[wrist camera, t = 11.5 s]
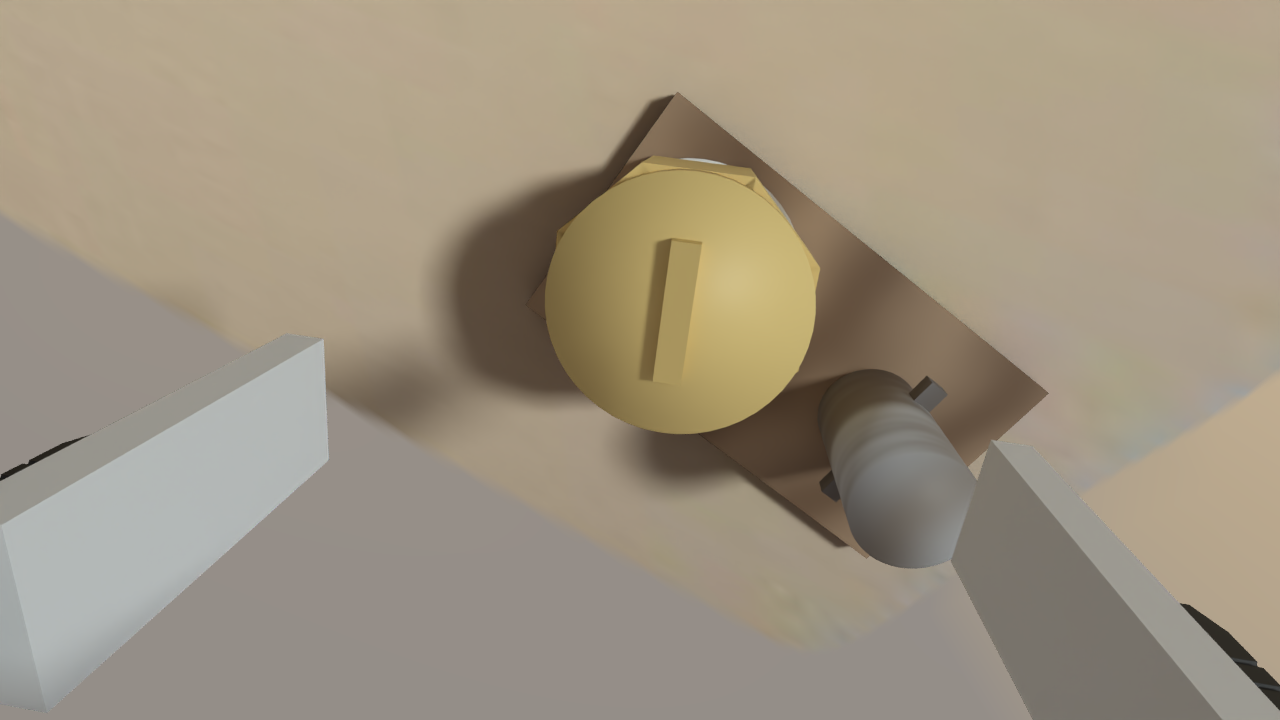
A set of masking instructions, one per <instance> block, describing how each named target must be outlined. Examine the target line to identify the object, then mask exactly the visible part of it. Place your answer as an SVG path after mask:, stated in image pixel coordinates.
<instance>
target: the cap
mask: <svg viewBox="0 0 1280 720" xmlns="http://www.w3.org/2000/svg"><path fill="white" fill-rule="evenodd" d="M819 272H820V267H819V265H818V264H817V262H816V261H815V259H814V258H813V256H812V254H811V253H810V251H809V250H808V248H807V247H806V245H805V244H804V242H803V241H802V240H801V238H800V237H799V235H798V234H797V233H796V231H795V230H794V228H793V227H792V226H791V224H790V223H789V221H788V220H787V219H786V217H785V216H784V214H783V213H782V212H781V210H780V209H779V207H778V206H777V205H776V203H775V202H774V200H773V199H772V197H771V196H770V195H769V193H768V192H767V190H766V189H765V188H764V186H763V185H762V183H761V182H760V181H759V179H758V178H757V176H756V175H755V174H754V172H753V171H752V169H751V168H745V167H738V166H730V165H722V164H715V163H707V162H700V161H692V160H684V159H677V158H669V157H662V156H652V157H650V158H649V159H647V160H645V161H643V162H642V163H640V164H639V165H638V166H637V167H635V168H634V169H633V170H632V171H631V172H629V173H628V174H627V175H626V176H624V177H623V178H622V179H621V180H620V181H618V182H617V183H616V184H615V185H613V186H612V187H611V188H610V189H608V190H607V191H606V192H605V193H604V194H602V195H601V196H600V197H598V198H597V199H595V200H594V201H592V202H591V203H590V204H589V205H588V206H587V207H586V208H585V209H584V210H583V211H581V212H580V213H579V214H578V215H576V216H575V217H574V218H573V219H572V220H570V221H569V222H568V223H567V224H565V225H564V226H563V227H562V228H560V229H559V230H558V231H557V237H556V250H555V253H554V255H553V257H552V260H551V264H550V267H549V271H548V275H547V281H546V288H545V314H546V322H547V327H548V331H549V335H550V339H551V342H552V345H553V347H554V350H555V352H556V355H557V357H558V359H559V361H560V362H561V364H562V366H563V368H564V370H565V371H566V373H567V374H568V375H569V377H570V378H571V380H572V381H573V382H574V384H575V385H576V386H577V387H578V388H579V389H580V390H581V391H582V392H583V393H584V394H585V396H586V397H588V398H589V399H590V400H591V401H592V402H594V403H595V404H596V405H597V406H598V407H600V408H601V409H603V410H604V411H606V412H607V413H609V414H611V415H612V416H614V417H616V418H618V419H620V420H622V421H624V422H626V423H628V424H631V425H634V426H637V427H640V428H643V429H646V430H651V431H656V432H660V433H671V434H695V433H702V432H709V431H713V430H717V429H720V428H724V427H727V426H730V425H732V424H735V423H737V422H740V421H742V420H744V419H746V418H747V417H749V416H751V415H753V414H755V413H756V412H758V411H759V410H760V409H762V408H763V407H764V406H766V405H767V404H769V403H770V402H771V401H772V400H773V399H774V398H775V397H776V396H777V395H778V394H779V393H780V392H781V391H782V390H783V389H784V388H785V387H786V385H787V384H788V383H789V382H790V380H791V379H792V378H793V376H794V375H795V373H797V372H798V371H799V366H800V365H801V363H802V361H803V359H804V356H805V354H806V352H807V350H808V347H809V344H810V340H811V337H812V333H813V329H814V322H815V315H816V294H815V291H816V286H817V282H818V277H819Z"/></svg>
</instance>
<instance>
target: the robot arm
mask: <svg viewBox="0 0 1280 720" xmlns="http://www.w3.org/2000/svg"><path fill="white" fill-rule="evenodd" d="M328 460H329V450H328V427H327V405H326V383H325V361H324V339H321V338H315V337H308V336H301V335H295V334H288V333H287V334H285V335H283V336H281V337H279V338H277V339H275V340H273V341H271V342H269V343H267V344H265V345H263V346H261V347H259V348H257V349H256V350H254V351H252V352H250V353H248V354H246V355H244V356H242V357H240V358H238V359H236V360H234V361H233V362H230V363H229V364H227V365H225V366H223V367H221V368H219V369H217V370H215V371H213V372H211V373H209V374H207V375H205V376H203V377H201V378H200V379H197V380H196V381H194V382H192V383H190V384H188V385H186V386H184V387H182V388H180V389H178V390H176V391H174V392H172V393H170V394H168V395H166V396H164V397H163V398H161V399H159V400H157V401H155V402H153V403H151V404H149V405H147V406H145V407H143V408H141V409H139V410H137V411H136V412H133V413H132V414H130V415H128V416H126V417H124V418H122V419H120V420H118V421H116V422H114V423H112V424H110V425H109V426H106V427H104V428H102V429H101V430H99V431H97V432H95V433H93V434H91V435H88V436H85V437H81V438H79V439H75V440H72V441H69V442H65V443H62V444H60V445H59V446H56V447H54V448H52V449H50V450H49V451H46V452H44V453H42V454H41V455H39V456H37V457H35V458H33V459H31V460H29V463H28V464H21V465H19V466H17V467H15V468H13V469H11V470H9V471H7V472H5V473H3V474H1V478H0V704H2V705H8V706H13V707H19V708H24V709H29V710H34V711H40V712H45V713H47V712H49V711H50V710H51V709H52V708H53V707H54V706H55V705H56V704H57V703H58V702H60V701H61V700H62V699H63V698H64V697H65V696H66V695H67V694H68V693H70V692H71V691H72V690H73V689H74V688H75V687H76V686H78V685H79V684H80V683H81V682H82V681H83V680H84V679H85V678H86V677H88V676H89V675H90V674H91V673H92V672H93V671H94V670H95V669H97V668H98V667H99V666H100V665H101V664H102V663H103V662H104V661H105V660H106V659H108V658H109V657H110V656H111V655H112V654H113V653H114V652H115V651H117V650H118V649H119V648H120V647H121V646H122V645H123V644H124V643H126V642H127V641H128V640H129V639H130V638H131V637H132V636H133V635H134V634H135V633H137V632H138V631H139V630H140V629H141V628H142V627H143V626H144V625H146V624H147V623H148V622H149V621H150V620H151V619H152V618H153V617H155V616H156V615H157V614H158V613H159V612H160V611H161V610H162V609H163V608H165V607H166V606H167V605H168V604H169V603H170V602H171V601H172V600H173V599H175V598H176V597H177V596H178V595H179V594H180V593H181V592H182V591H183V590H185V589H186V588H187V587H188V586H189V585H190V584H191V583H192V582H194V581H195V580H196V579H197V578H198V577H199V576H200V575H201V574H202V573H204V572H205V571H206V570H207V569H208V568H209V567H210V566H211V565H212V564H214V563H215V562H216V561H217V560H218V559H219V558H220V557H221V556H223V555H224V554H225V553H226V552H227V551H228V550H229V549H230V548H231V547H233V546H234V545H235V544H236V543H237V542H238V541H239V540H240V539H241V538H243V537H244V536H245V535H246V534H247V533H248V532H249V531H250V530H251V529H253V528H254V527H255V526H256V525H257V524H258V523H259V522H260V521H261V520H263V519H264V518H265V517H266V516H267V515H268V514H269V513H270V512H272V511H273V510H274V509H275V508H276V507H277V506H278V505H279V504H280V503H282V502H283V501H284V500H285V499H286V498H287V497H288V496H289V495H291V494H292V493H293V492H294V491H295V490H296V489H297V488H298V487H299V486H300V485H302V484H303V483H304V482H305V481H306V480H307V479H308V478H309V477H310V476H312V475H313V474H314V473H315V472H316V471H317V470H318V469H319V468H321V467H322V466H323V465H324V464H325V463H326V462H327V461H328ZM951 562H952V564H953V566H954V568H955V570H956V572H957V574H958V576H959V578H960V579H961V581H962V583H963V585H964V587H965V589H966V591H967V593H968V595H969V597H970V599H971V601H972V603H973V605H974V607H975V609H976V610H977V612H978V614H979V616H980V618H981V620H982V622H983V624H984V626H985V628H986V630H987V631H988V634H989V636H990V638H991V639H992V641H993V643H994V645H995V647H996V649H997V651H998V653H999V655H1000V657H1001V659H1002V660H1003V663H1004V665H1005V667H1006V669H1007V671H1008V672H1009V674H1010V676H1011V678H1012V680H1013V682H1014V684H1015V686H1016V688H1017V690H1018V692H1019V694H1020V696H1021V698H1022V700H1023V702H1024V704H1025V705H1026V707H1027V709H1028V711H1029V713H1030V715H1031V717H1032V719H1033V720H1280V685H1279V684H1278V683H1277V682H1276V681H1275V680H1274V679H1273V678H1272V677H1271V676H1270V674H1269V673H1268V672H1266V670H1265V669H1264V668H1260V667H1258V666H1257V661H1256V660H1255V659H1254V658H1253V657H1252V656H1251V655H1250V654H1249V653H1248V652H1247V651H1246V650H1245V649H1244V648H1243V647H1242V646H1241V645H1240V644H1239V643H1238V642H1237V641H1236V640H1235V639H1234V638H1233V637H1232V636H1231V635H1230V634H1229V632H1227V631H1226V630H1224V629H1223V628H1221V627H1220V626H1219V625H1217V624H1216V623H1214V622H1213V621H1211V620H1210V619H1209V618H1207V617H1206V616H1204V615H1203V614H1201V613H1200V612H1198V611H1197V610H1196V609H1194V608H1193V607H1191V606H1190V605H1187V604H1181V603H1179V602H1178V601H1177V600H1176V599H1175V598H1174V597H1173V596H1172V595H1171V594H1170V593H1169V592H1168V591H1167V590H1166V589H1165V587H1164V586H1163V585H1162V584H1161V583H1160V582H1159V581H1158V580H1157V579H1156V578H1155V577H1154V576H1153V575H1152V574H1151V572H1150V571H1149V570H1148V569H1147V568H1146V567H1145V566H1144V565H1143V564H1142V563H1141V562H1140V561H1139V560H1138V559H1137V557H1136V556H1135V555H1134V554H1133V553H1132V552H1131V551H1130V550H1129V549H1128V548H1127V547H1126V546H1125V545H1124V544H1123V542H1122V541H1121V540H1120V539H1119V538H1118V537H1117V536H1116V535H1115V534H1114V533H1113V532H1112V531H1111V530H1110V529H1109V528H1108V527H1107V525H1106V524H1105V523H1104V522H1103V521H1102V520H1101V519H1100V518H1099V517H1098V516H1097V515H1096V514H1095V513H1094V511H1093V510H1092V509H1091V508H1090V507H1089V506H1088V505H1087V504H1086V503H1085V502H1084V501H1083V500H1082V499H1081V498H1080V496H1079V495H1078V494H1077V493H1076V492H1075V491H1074V490H1073V489H1072V488H1071V487H1070V486H1069V485H1068V484H1067V483H1066V482H1065V480H1064V479H1063V478H1062V477H1061V476H1060V475H1059V474H1058V473H1057V472H1056V471H1055V470H1054V469H1053V468H1052V467H1051V465H1050V464H1049V463H1048V462H1047V461H1046V460H1045V459H1044V458H1043V457H1042V456H1041V455H1040V454H1039V453H1038V452H1037V450H1036V449H1035V448H1034V447H1033V446H1029V445H1022V444H1016V443H1009V442H1002V441H996V440H991V441H990V444H989V447H988V450H987V453H986V456H985V459H984V462H983V465H982V468H981V471H980V474H979V477H978V480H977V483H976V486H975V489H974V492H973V495H972V498H971V501H970V504H969V507H968V510H967V513H966V516H965V519H964V522H963V525H962V529H961V532H960V535H959V538H958V541H957V544H956V547H955V550H954V553H953V556H952V559H951Z"/></svg>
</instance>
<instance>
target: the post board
mask: <svg viewBox="0 0 1280 720" xmlns="http://www.w3.org/2000/svg"><path fill="white" fill-rule="evenodd" d="M652 156H662V157H669V158H677V159H684V160H692V161H700V162H707V163H715V164H722V165H730V166H738V167H745V168H751V169H752V171H753V172H754V174H755V175H756V176H757V178H758V179H759V181H760V182H761V183H762V185H763V186H764V188H765V189H766V190H767V192H768V193H769V195H770V196H771V197H772V199H773V200H774V202H775V203H776V205H777V206H778V207H779V209H780V210H781V212H782V213H783V214H784V216H785V217H786V219H787V220H788V221H789V223H790V224H791V226H792V227H793V228H794V230H795V231H796V233H797V234H798V235H799V237H800V238H801V240H802V241H803V242H804V244H805V245H806V247H807V248H808V250H809V251H810V253H811V254H812V256H813V258H814V259H815V261H816V262H817V264H818V265H819V267H820V272H819V277H818V282H817V286H816V291H815V294H816V315H815V322H814V329H813V333H812V337H811V340H810V344H809V347H808V350H807V352H806V354H805V356H804V359H803V361H802V363H801V365H800V366H799V371H798V372H797V373H795V375H794V376H793V378H792V379H791V380H790V382H789V383H788V384H787V385H786V387H785V388H784V389H783V390H782V391H781V392H780V393H779V394H778V395H777V396H776V397H775V398H774V399H773V400H772V401H771V402H770V403H769V404H767V405H766V406H764V407H763V408H762V409H760V410H759V411H758V412H756V413H755V414H753V415H751V416H749V417H747V418H746V419H744V420H742V421H740V422H737V423H735V424H732V425H730V426H727V427H724V428H720V429H717V430H713V431H709V432H702V433H698V434H699V435H701V436H702V437H704V438H705V439H706V440H708V441H709V442H710V443H712V444H713V445H714V446H716V447H717V448H718V449H720V450H721V451H722V452H724V453H725V454H726V455H728V456H729V457H730V458H732V459H733V460H734V461H736V462H737V463H739V464H740V465H741V466H743V467H744V468H745V469H747V470H748V471H749V472H751V473H752V474H753V475H755V476H756V477H757V478H759V479H760V480H761V481H763V482H764V483H765V484H767V485H768V486H770V487H771V488H772V489H774V490H775V491H776V492H778V493H779V494H780V495H782V496H783V497H784V498H786V499H787V500H788V501H790V502H791V503H792V504H794V505H795V506H796V507H798V508H799V509H800V510H802V511H803V512H805V513H806V514H807V515H809V516H810V517H811V518H813V519H814V520H815V521H817V522H818V523H819V524H821V525H822V526H823V527H825V528H826V529H827V530H829V531H830V532H831V533H833V534H834V535H835V536H837V537H838V538H840V539H841V540H842V541H844V542H845V543H846V544H848V545H849V546H850V547H852V548H853V549H854V550H856V551H857V552H858V553H860V554H861V555H862V556H864V557H865V558H866V559H867V558H868V557H869V556H872V557H873V558H875V559H876V560H878V561H880V562H882V563H885V564H888V565H891V566H895V567H900V568H925V567H930V566H934V565H938V564H941V563H943V562H946V561H948V560H950V559H952V556H953V553H954V550H955V547H956V544H957V541H958V538H959V535H960V532H961V529H962V525H963V522H964V519H965V516H966V513H967V510H968V507H969V504H970V501H971V498H972V495H973V492H974V489H975V486H976V483H977V480H976V479H975V477H974V476H973V474H972V473H971V471H970V470H969V469H968V466H969V465H970V464H971V463H972V462H974V461H975V460H976V459H977V458H978V457H979V456H980V455H981V454H982V453H983V452H985V451H986V450H987V449H988V447H989V444H990V441H991V440H996V441H997V440H998V439H999V438H1000V437H1001V436H1002V435H1003V434H1004V433H1006V432H1007V431H1008V430H1009V429H1010V428H1011V427H1012V426H1013V425H1014V424H1015V423H1017V422H1018V421H1019V420H1020V419H1021V418H1022V417H1023V416H1024V415H1025V414H1027V413H1028V412H1029V411H1030V410H1031V409H1032V408H1033V407H1034V406H1035V405H1036V404H1038V403H1039V402H1040V401H1041V400H1042V399H1043V398H1044V397H1045V396H1046V395H1047V394H1049V393H1048V392H1047V391H1046V390H1044V389H1043V388H1042V387H1041V386H1040V385H1038V384H1037V383H1036V382H1035V381H1033V380H1032V379H1031V378H1030V377H1029V376H1027V375H1026V374H1025V373H1024V372H1022V371H1021V370H1020V369H1019V368H1017V367H1016V366H1015V365H1014V364H1013V363H1011V362H1010V361H1009V360H1008V359H1006V358H1005V357H1004V356H1003V355H1001V354H1000V353H999V352H998V351H996V350H995V349H994V348H993V347H992V346H990V345H989V344H988V343H987V342H985V341H984V340H983V339H982V338H980V337H979V336H978V335H977V334H976V333H974V332H973V331H972V330H971V329H969V328H968V327H967V326H966V325H964V324H963V323H962V322H961V321H959V320H958V319H957V318H956V317H955V316H953V315H952V314H951V313H950V312H948V311H947V310H946V309H945V308H943V307H942V306H941V305H940V304H939V303H937V302H936V301H935V300H934V299H932V298H931V297H930V296H929V295H927V294H926V293H925V292H924V291H922V290H921V289H920V288H919V287H918V286H916V285H915V284H914V283H913V282H911V281H910V280H909V279H908V278H906V277H905V276H904V275H903V274H902V273H900V272H899V271H898V270H897V269H895V268H894V267H893V266H892V265H890V264H889V263H888V262H887V261H885V260H884V259H883V258H882V257H881V256H879V255H878V254H877V253H876V252H874V251H873V250H872V249H871V248H869V247H868V246H867V245H866V244H865V243H863V242H862V241H861V240H860V239H858V238H857V237H856V236H855V235H853V234H852V233H851V232H850V231H848V230H847V229H846V228H845V227H844V226H842V225H841V224H840V223H839V222H837V221H836V220H835V219H834V218H832V217H831V216H830V215H829V214H828V213H826V212H825V211H824V210H823V209H821V208H820V207H819V206H818V205H816V204H815V203H814V202H813V201H811V200H810V199H809V198H808V197H807V196H805V195H804V194H803V193H802V192H800V191H799V190H798V189H797V188H795V187H794V186H793V185H792V184H791V183H789V182H788V181H787V180H786V179H784V178H783V177H782V176H781V175H779V174H778V173H777V172H776V171H774V170H773V169H772V168H771V167H770V166H768V165H767V164H766V163H765V162H763V161H762V160H761V159H760V158H758V157H757V156H756V155H755V154H754V153H752V152H751V151H750V150H749V149H747V148H746V147H745V146H744V145H742V144H741V143H740V142H739V141H737V140H736V139H735V138H734V137H733V136H731V135H730V134H729V133H728V132H726V131H725V130H724V129H723V128H721V127H720V126H719V125H718V124H717V123H715V122H714V121H713V120H712V119H710V118H709V117H708V116H707V115H705V114H704V113H703V112H702V111H700V110H699V109H698V108H697V107H696V106H694V105H693V104H692V103H691V102H689V101H688V100H687V99H686V98H684V97H683V96H682V95H681V94H680V93H678V92H677V93H676V94H675V96H674V97H673V98H672V100H671V101H670V103H669V104H668V105H667V107H666V108H665V110H664V111H663V112H662V114H661V115H660V117H659V118H658V120H657V121H656V122H655V124H654V125H653V127H652V128H651V129H650V131H649V132H648V134H647V135H646V136H645V138H644V139H643V141H642V142H641V143H640V145H639V146H638V148H637V149H636V150H635V152H634V153H633V155H632V156H631V157H630V159H629V160H628V162H627V163H626V164H625V166H624V167H623V169H622V170H621V171H620V173H619V174H618V176H617V177H616V178H615V180H614V181H613V183H612V184H611V185H610V187H609V188H608V189H610V188H611V187H612V186H613V185H615V184H616V183H617V182H618V181H620V180H621V179H622V178H623V177H624V176H626V175H627V174H628V173H629V172H631V171H632V170H633V169H634V168H635V167H637V166H638V165H639V164H640V163H642V162H643V161H645V160H647V159H649V158H650V157H652ZM547 275H548V274H547ZM547 275H546V277H545V278H544V279H543V281H542V282H541V284H540V285H539V286H538V288H537V289H536V291H535V292H534V293H533V295H532V296H531V298H530V299H529V300H528V302H527V303H526V306H527V307H528V308H530V309H531V310H532V311H534V312H535V313H537V314H538V315H539V316H541V317H542V318H543V319H545V320H546V314H545V288H546V281H547Z"/></svg>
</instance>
